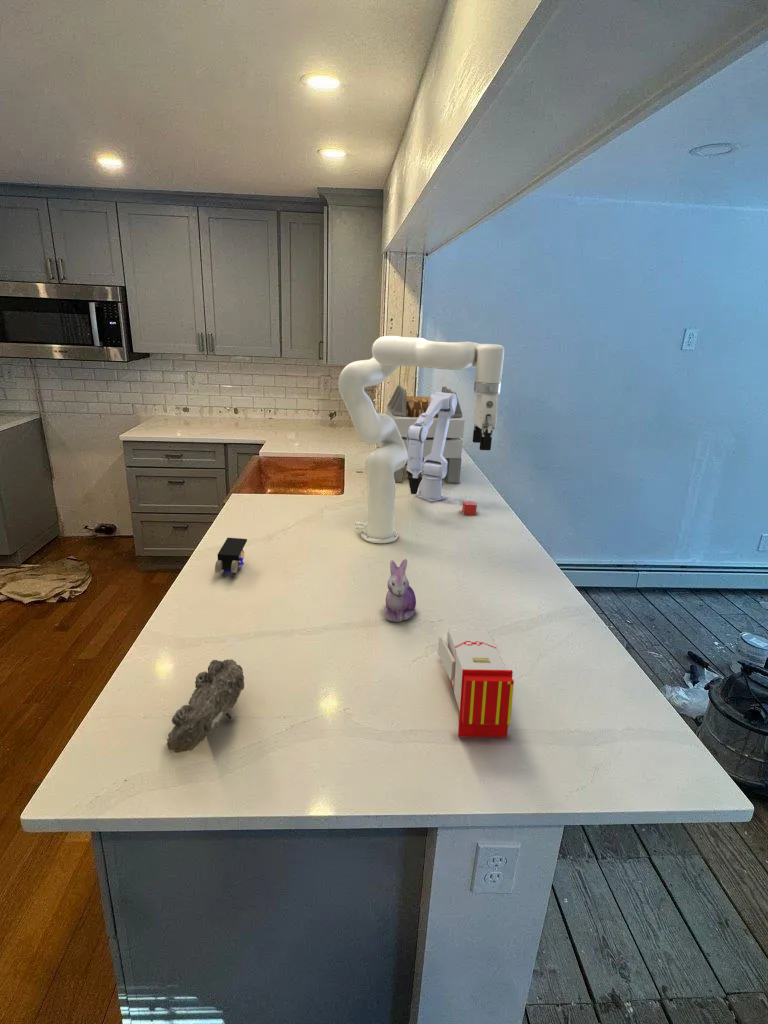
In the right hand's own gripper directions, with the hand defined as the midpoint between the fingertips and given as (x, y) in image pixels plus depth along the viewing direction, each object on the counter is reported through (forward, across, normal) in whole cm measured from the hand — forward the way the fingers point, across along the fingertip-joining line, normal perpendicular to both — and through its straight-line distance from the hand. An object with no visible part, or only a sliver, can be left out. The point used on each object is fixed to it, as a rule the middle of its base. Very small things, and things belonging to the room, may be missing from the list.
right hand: (413, 490), depth 221 cm
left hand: (-29, -44, -16) cm, 55 cm away
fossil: (+8, -121, +46) cm, 130 cm away
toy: (+8, -112, -5) cm, 112 cm away
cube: (+8, -1, -22) cm, 24 cm away
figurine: (+8, -81, +8) cm, 82 cm away
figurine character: (+8, -58, +57) cm, 81 cm away
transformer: (+8, +54, -7) cm, 56 cm away
